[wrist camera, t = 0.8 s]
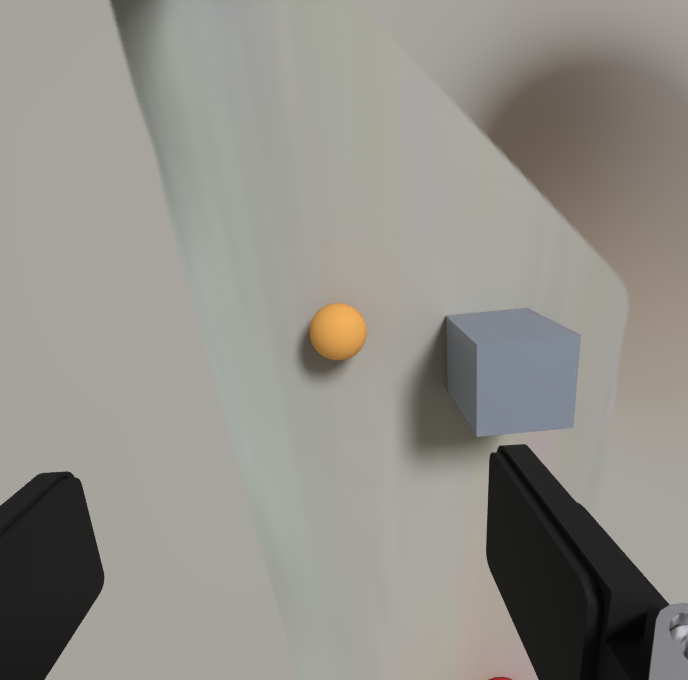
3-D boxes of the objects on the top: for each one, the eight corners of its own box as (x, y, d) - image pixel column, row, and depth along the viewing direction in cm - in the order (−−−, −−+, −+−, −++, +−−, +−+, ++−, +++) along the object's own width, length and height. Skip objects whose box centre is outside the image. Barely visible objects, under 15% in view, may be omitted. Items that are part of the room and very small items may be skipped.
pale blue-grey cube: (445, 315, 40) (477, 344, 31) (527, 308, 40) (580, 334, 31) (447, 391, 42) (476, 436, 34) (524, 383, 42) (573, 427, 34)
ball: (307, 300, 39) (304, 313, 34) (362, 295, 39) (366, 307, 34) (313, 352, 40) (311, 371, 36) (366, 347, 40) (371, 366, 36)
